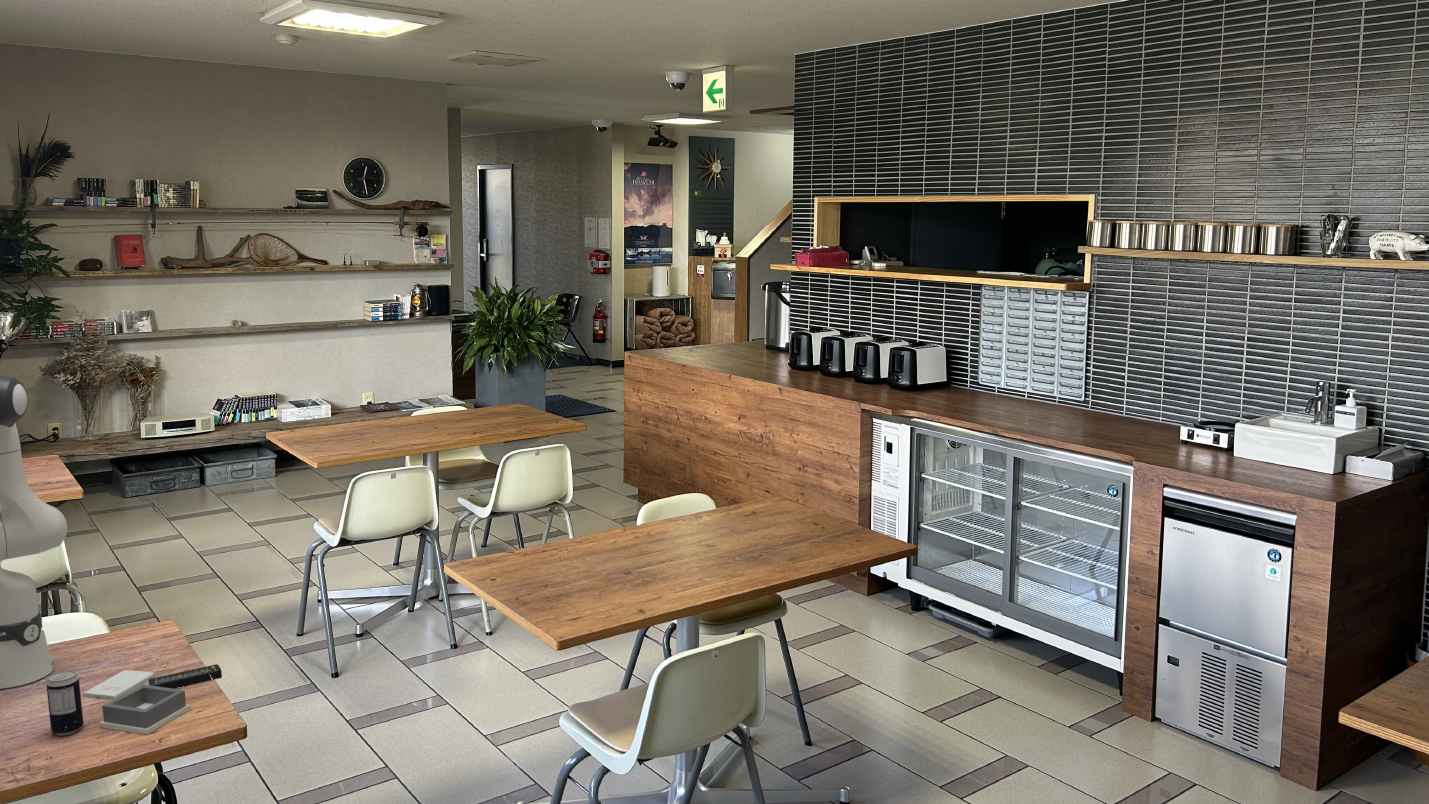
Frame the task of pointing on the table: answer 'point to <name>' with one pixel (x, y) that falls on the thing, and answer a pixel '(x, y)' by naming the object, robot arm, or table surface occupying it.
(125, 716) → the square holder
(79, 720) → the beverage can
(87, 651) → the table surface
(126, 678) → the external hard drive
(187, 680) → the multiport hub
